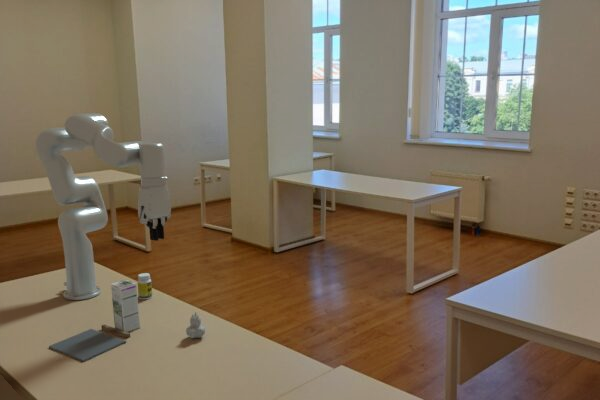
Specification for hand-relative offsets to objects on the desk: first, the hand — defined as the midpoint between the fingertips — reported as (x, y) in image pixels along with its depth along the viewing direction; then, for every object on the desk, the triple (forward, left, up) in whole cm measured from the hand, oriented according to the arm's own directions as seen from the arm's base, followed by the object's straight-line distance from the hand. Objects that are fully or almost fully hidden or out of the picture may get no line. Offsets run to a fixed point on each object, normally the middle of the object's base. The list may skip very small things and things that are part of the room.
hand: (157, 238), depth 176 cm
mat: (0, -28, -25) cm, 38 cm away
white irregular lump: (+23, -8, -25) cm, 35 cm away
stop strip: (0, -18, -25) cm, 31 cm away
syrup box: (0, -14, -25) cm, 29 cm away
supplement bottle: (-16, +7, -25) cm, 31 cm away
